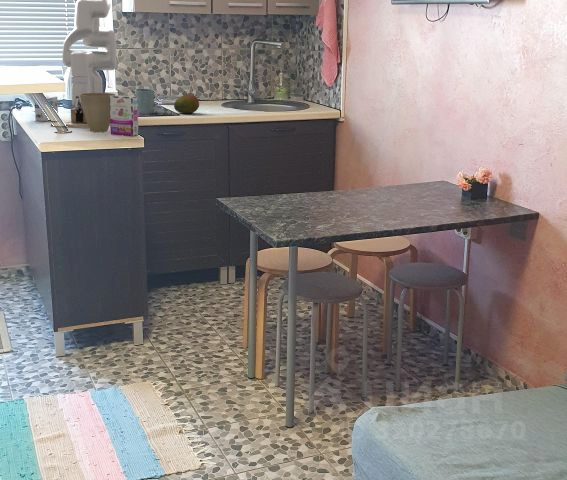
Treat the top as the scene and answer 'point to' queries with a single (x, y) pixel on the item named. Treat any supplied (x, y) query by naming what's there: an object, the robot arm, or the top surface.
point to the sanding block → (73, 116)
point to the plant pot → (97, 110)
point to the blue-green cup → (145, 100)
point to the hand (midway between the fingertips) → (81, 120)
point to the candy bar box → (124, 115)
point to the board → (75, 124)
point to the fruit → (186, 104)
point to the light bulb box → (39, 113)
